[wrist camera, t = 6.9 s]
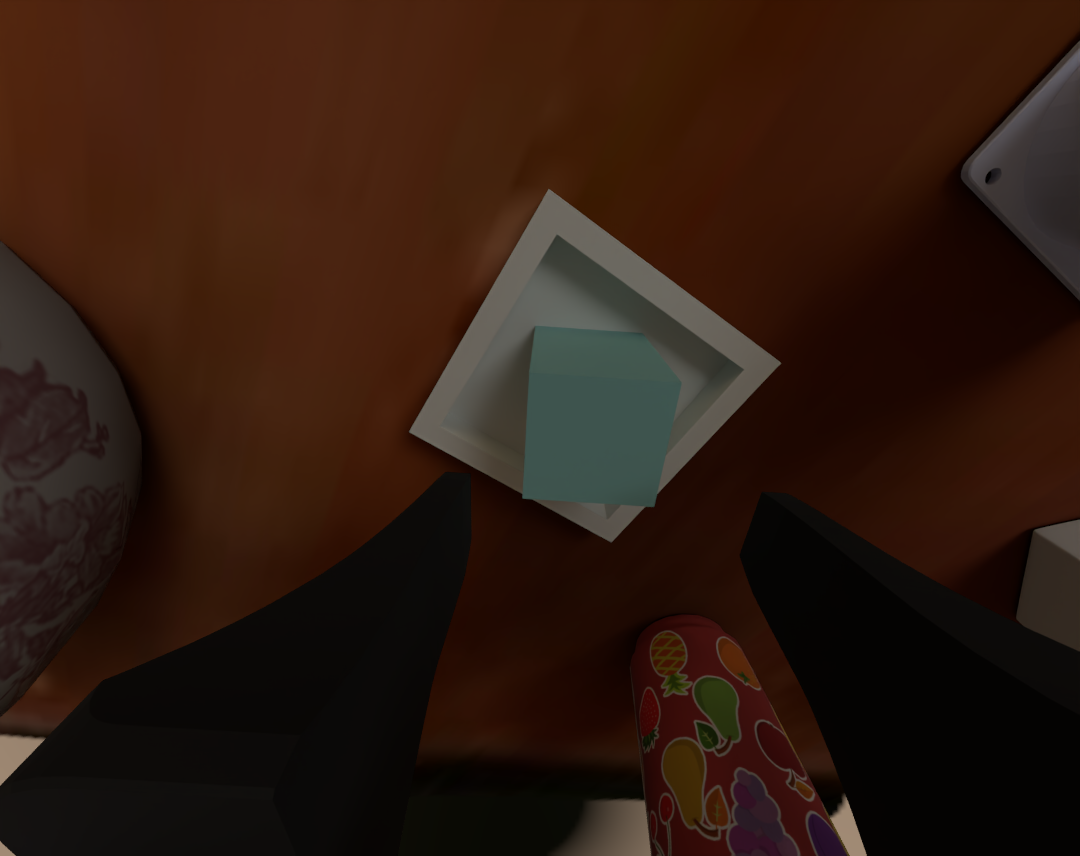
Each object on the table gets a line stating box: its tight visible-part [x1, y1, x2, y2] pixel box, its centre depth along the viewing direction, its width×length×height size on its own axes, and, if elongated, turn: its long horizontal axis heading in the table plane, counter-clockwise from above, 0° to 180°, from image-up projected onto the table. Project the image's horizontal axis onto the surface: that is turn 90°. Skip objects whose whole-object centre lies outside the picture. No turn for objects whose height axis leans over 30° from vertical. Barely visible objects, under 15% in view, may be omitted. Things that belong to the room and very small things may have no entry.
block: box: [522, 326, 682, 507], centre depth 16 cm, size 4×4×6 cm
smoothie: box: [630, 614, 849, 856], centre depth 18 cm, size 8×8×20 cm
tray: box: [409, 190, 781, 542], centre depth 19 cm, size 11×11×2 cm
